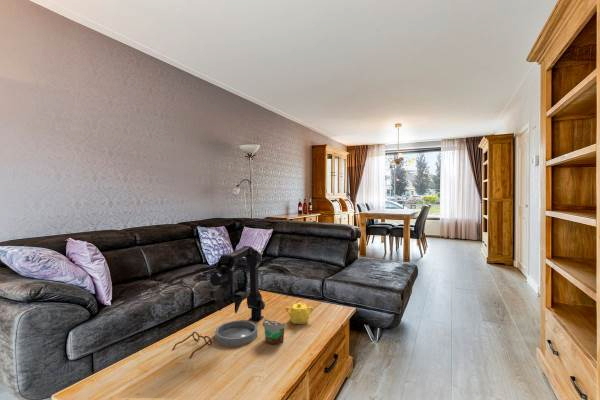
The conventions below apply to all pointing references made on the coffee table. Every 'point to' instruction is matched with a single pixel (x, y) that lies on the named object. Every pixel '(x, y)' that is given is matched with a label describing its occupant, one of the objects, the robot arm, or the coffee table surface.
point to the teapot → (299, 313)
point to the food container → (273, 332)
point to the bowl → (236, 333)
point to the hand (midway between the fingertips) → (228, 311)
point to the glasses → (197, 340)
